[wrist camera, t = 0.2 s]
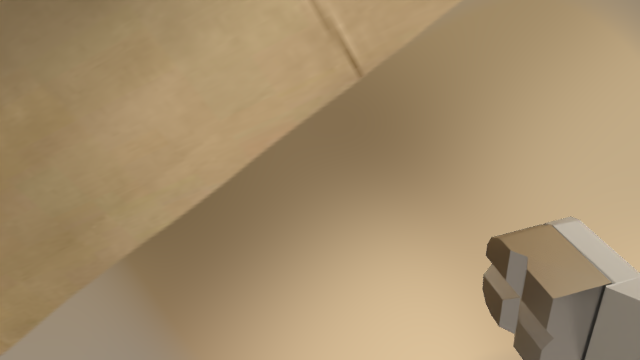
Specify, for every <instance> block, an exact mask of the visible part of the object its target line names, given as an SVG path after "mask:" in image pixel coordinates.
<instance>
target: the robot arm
mask: <svg viewBox="0 0 640 360" xmlns="http://www.w3.org/2000/svg"><path fill="white" fill-rule="evenodd" d="M486 256H487V258H488V259H489V260H490V261H491V263H492V265H491V266H490V267H489V268H488V270H487V271H486V272H485V273H484V277H483V293H484V297H485V302H486V305H487V307H488V309H489V311H490V313H491V315H492V317H493V318H494V320H495V321H496V323H497V324H498V325H499V327H502V328H503V329H505V330H508V331H510V332H512V333H514V348H515V349H516V350H517V352H518V353H519V355H520V356H521V357H522V359H523V360H640V273H639V272H638V271H637V270H636V269H634V268H633V267H632V266H631V265H630V264H629V263H628V262H626V261H625V260H624V259H623V258H622V257H621V256H620V255H619V254H617V253H616V252H615V251H614V250H613V249H612V248H611V247H610V246H608V245H607V244H606V243H605V242H604V241H603V240H602V239H601V238H599V237H598V236H597V235H596V234H595V233H594V232H593V231H591V230H590V229H589V228H588V227H587V226H586V225H585V224H584V223H582V222H581V221H580V220H579V219H576V218H573V217H567V218H563V219H560V220H556V221H552V222H548V223H545V224H543V225H537V226H533V227H529V228H526V229H522V230H518V231H514V232H510V233H506V234H503V235H499V236H495V237H492V238H491V239H490V241H489V243H488V244H487V251H486Z"/></svg>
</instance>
